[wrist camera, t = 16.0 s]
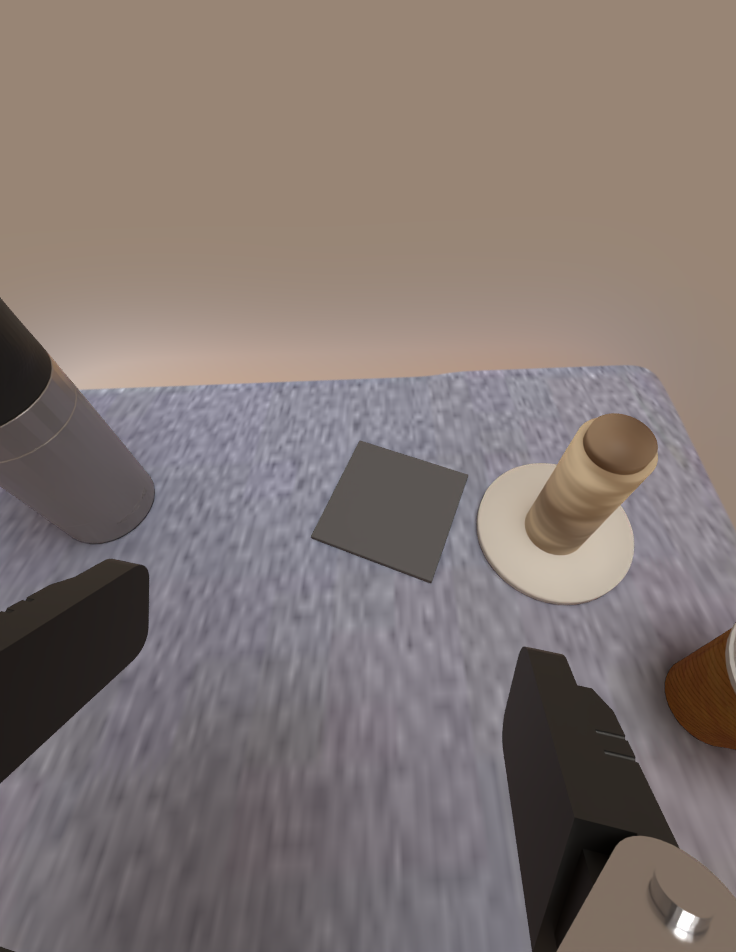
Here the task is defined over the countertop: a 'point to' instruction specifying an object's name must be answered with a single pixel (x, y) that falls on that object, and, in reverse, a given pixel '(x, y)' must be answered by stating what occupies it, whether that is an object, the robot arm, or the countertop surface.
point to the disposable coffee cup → (706, 691)
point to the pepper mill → (591, 482)
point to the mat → (392, 510)
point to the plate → (536, 569)
